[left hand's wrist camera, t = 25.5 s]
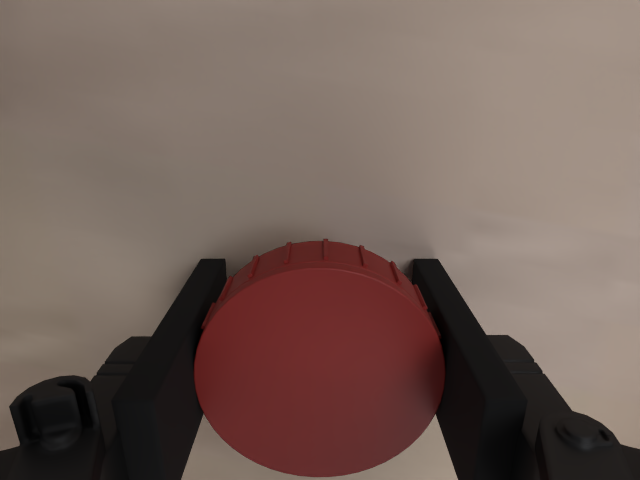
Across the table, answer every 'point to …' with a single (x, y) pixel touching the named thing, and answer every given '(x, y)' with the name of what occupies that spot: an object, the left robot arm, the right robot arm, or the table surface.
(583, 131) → the table surface
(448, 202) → the table surface
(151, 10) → the table surface
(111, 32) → the table surface
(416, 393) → the lid
